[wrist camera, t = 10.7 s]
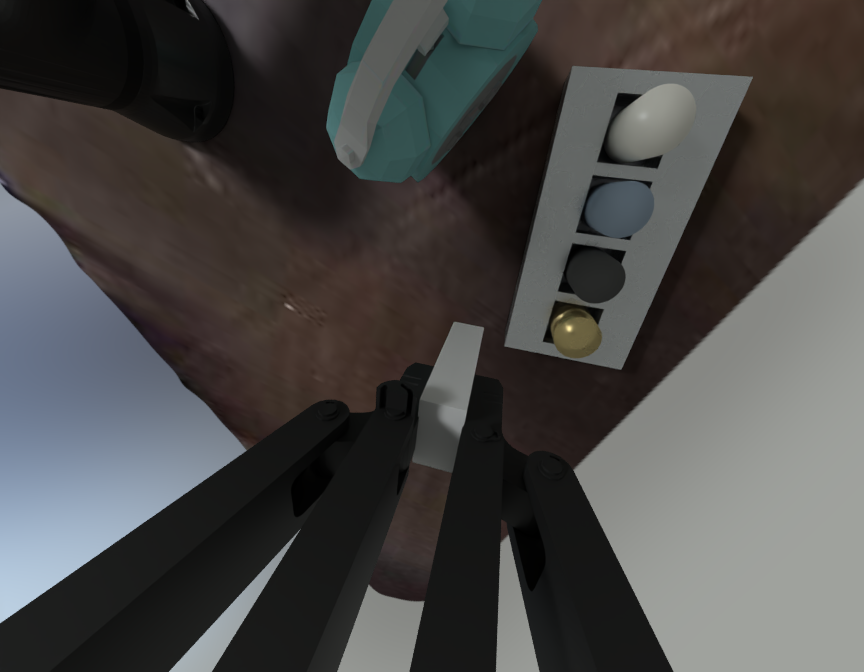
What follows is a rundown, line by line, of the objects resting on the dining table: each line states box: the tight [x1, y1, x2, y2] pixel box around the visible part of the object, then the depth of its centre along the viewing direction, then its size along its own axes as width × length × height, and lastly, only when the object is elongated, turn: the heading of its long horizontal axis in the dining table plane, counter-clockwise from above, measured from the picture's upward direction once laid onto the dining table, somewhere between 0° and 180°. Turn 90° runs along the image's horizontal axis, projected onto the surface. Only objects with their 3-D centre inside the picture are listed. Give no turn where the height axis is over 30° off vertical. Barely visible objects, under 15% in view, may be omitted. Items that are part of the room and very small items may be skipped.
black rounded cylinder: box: [563, 246, 626, 304], centre depth 31 cm, size 4×4×6 cm
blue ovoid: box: [581, 181, 654, 238], centre depth 28 cm, size 4×4×6 cm
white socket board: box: [504, 66, 753, 370], centre depth 32 cm, size 13×26×4 cm, turn 173°
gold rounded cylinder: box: [549, 301, 602, 358], centre depth 34 cm, size 4×4×6 cm
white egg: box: [604, 84, 696, 163], centre depth 25 cm, size 4×4×6 cm
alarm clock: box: [326, 0, 542, 183], centre depth 23 cm, size 17×10×20 cm, turn 137°
